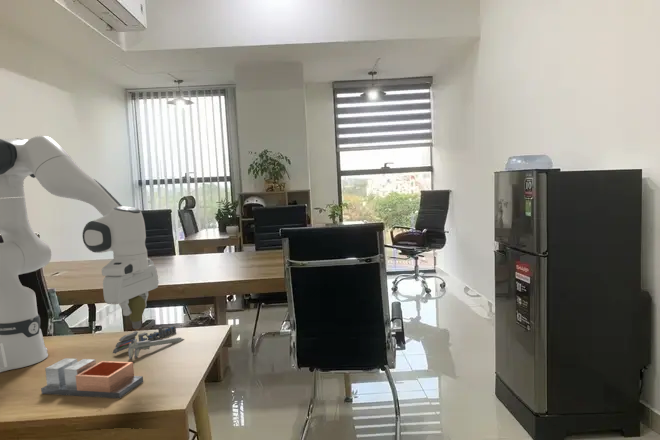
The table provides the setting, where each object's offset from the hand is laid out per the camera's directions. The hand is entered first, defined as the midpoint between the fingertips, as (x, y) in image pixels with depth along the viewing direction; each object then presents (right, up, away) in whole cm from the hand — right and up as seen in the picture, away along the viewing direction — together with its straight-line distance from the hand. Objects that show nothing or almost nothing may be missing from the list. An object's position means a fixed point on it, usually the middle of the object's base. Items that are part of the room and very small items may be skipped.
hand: (135, 311), depth 133 cm
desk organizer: (-8, -20, -6) cm, 22 cm away
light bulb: (0, -6, +1) cm, 6 cm away
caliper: (-2, -17, +23) cm, 29 cm away
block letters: (-8, -17, +29) cm, 34 cm away
